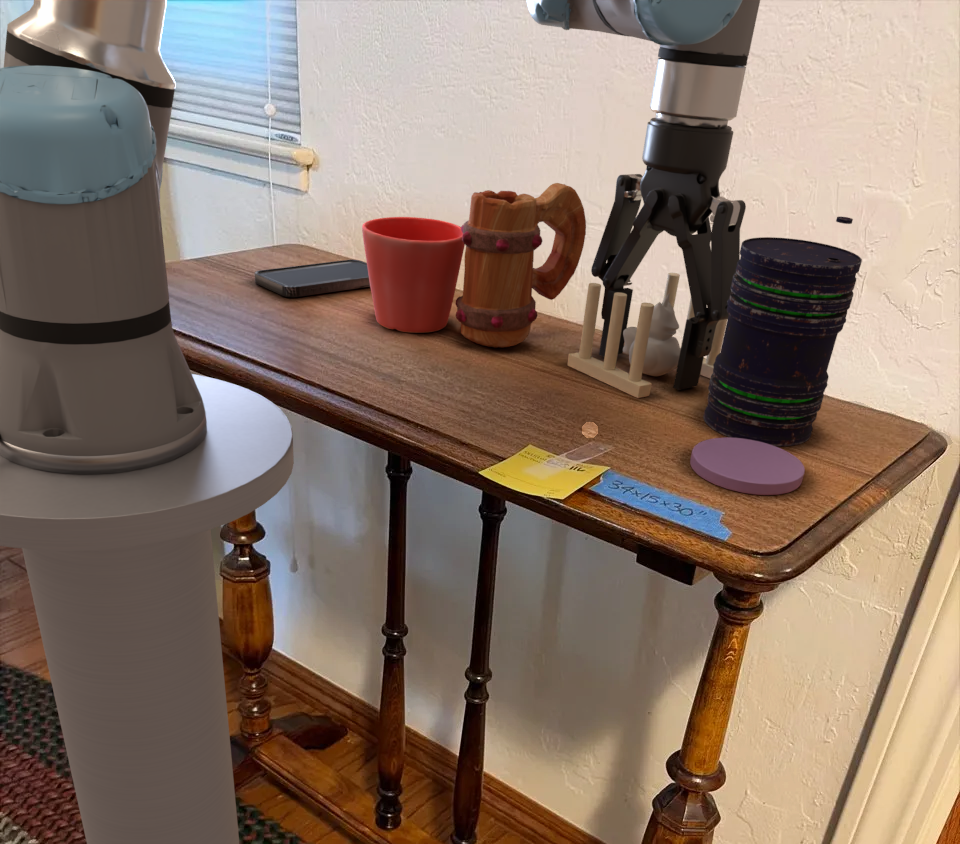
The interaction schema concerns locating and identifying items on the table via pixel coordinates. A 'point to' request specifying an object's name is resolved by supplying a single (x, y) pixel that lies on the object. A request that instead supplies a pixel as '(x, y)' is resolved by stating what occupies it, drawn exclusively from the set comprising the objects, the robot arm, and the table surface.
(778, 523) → the table surface
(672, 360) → the grey lumpy piece
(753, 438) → the dark blue barrel
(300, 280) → the phone
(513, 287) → the mug
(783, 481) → the purple coaster
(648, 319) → the rack
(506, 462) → the table surface
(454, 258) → the flower pot
